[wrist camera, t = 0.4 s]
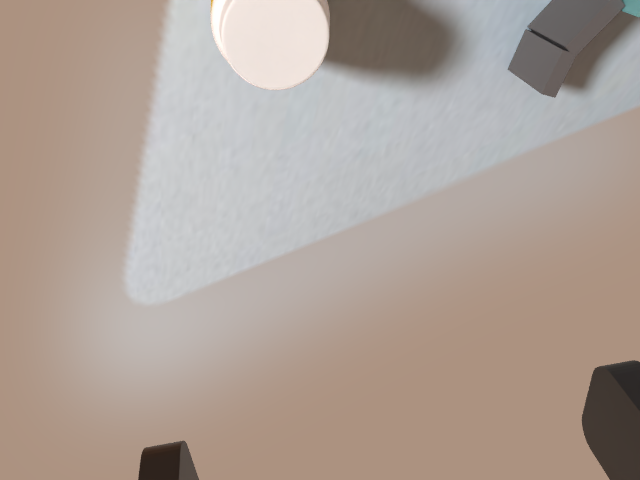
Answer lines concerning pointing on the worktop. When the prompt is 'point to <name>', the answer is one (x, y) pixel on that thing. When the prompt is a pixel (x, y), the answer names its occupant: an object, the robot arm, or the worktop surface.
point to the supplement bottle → (272, 39)
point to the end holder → (632, 7)
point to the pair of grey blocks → (559, 40)
